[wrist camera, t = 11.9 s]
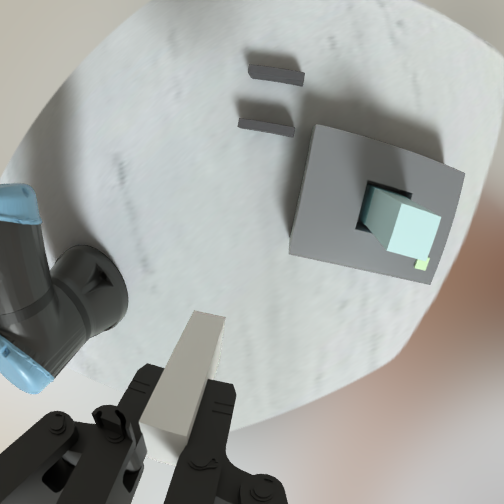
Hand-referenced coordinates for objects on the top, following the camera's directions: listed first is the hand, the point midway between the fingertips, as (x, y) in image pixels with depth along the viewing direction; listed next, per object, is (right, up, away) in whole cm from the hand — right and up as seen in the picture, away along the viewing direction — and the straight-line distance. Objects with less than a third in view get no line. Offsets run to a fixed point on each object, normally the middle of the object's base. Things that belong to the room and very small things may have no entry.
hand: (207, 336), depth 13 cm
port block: (+17, +10, +19) cm, 27 cm away
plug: (+17, +10, +18) cm, 27 cm away
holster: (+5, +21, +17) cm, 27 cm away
